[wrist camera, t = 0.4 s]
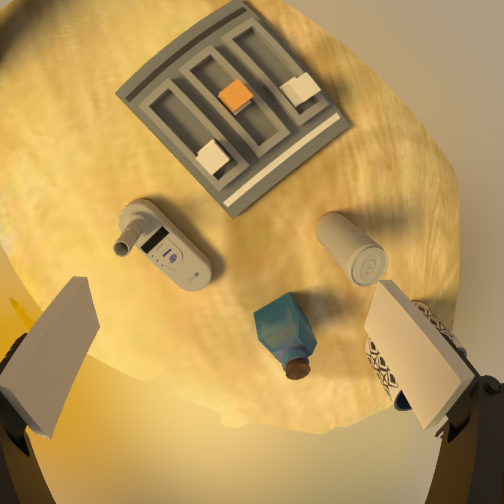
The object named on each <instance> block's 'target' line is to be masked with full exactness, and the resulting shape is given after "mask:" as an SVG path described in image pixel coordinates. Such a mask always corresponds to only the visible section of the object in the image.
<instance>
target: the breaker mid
mask: <svg viewBox="0 0 504 504" xmlns="http://www.w3.org/2000/svg"><path fill="white" fill-rule="evenodd" d="M217 97H218V98H219V99H220V100H221V102H222V103H223V104H224V105H225V106H226V107H227V108H228V109H229V110H230V111H231V112H232V114H233V115H234V116H235V115H236V114H237V113H239V112H240V111H241V110H242V109H244V108H245V107H246V106H248V105H249V104H250V103H251V101H250V100H251V98H252V97H253V95H252V93H251V92H250V91H249V90H248V89H247V88H246V87H245V86H244V85H243V83H242V82H241V81H240V80H239V79H237V80H235V81H234V82H233V83H231V84H230V85H229V86H227V87H226V88H225V89H224V90H222V91H221V92H220V93H219V95H218V96H217Z"/></svg>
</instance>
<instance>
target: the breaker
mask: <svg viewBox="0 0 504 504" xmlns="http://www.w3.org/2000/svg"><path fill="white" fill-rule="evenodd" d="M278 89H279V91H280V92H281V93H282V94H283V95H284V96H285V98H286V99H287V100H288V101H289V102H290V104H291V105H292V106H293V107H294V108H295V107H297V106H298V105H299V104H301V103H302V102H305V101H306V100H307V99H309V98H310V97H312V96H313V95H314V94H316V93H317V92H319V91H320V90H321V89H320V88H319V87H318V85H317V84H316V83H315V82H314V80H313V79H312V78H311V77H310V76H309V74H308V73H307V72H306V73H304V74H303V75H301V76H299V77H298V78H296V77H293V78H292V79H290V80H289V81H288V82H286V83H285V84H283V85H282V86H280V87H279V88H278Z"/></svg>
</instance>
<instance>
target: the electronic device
mask: <svg viewBox="0 0 504 504" xmlns="http://www.w3.org/2000/svg"><path fill="white" fill-rule="evenodd" d="M119 227H120V230H121V232H122V233H121V236H120V237H119V238H118V240H117V241H116V242H115V244H114V247H113V249H114V252H115V254H116V255H117V256H120V257H125V256H127V255H128V254H129V252H130V251H131V249H132V247H133V245H134V246H135V247H136V248H137V249H138V250H139V251H140V252H141V253H142V254H143V255H144V256H146V257H147V258H148V259H149V260H150V261H151V262H152V263H153V264H154V265H155V266H156V267H157V268H159V269H160V270H161V271H162V272H163V273H164V274H165V275H166V276H167V277H168V278H170V279H171V280H172V281H173V282H174V283H175V284H176V285H178V286H179V287H180V288H181V289H184V290H186V291H192V292H196V291H199V290H202V289H204V288H205V287H206V286H207V285H208V284H209V283H210V281H211V279H212V265H211V262H210V260H209V258H208V257H207V256H206V255H205V254H204V253H203V252H202V251H201V250H200V249H198V248H197V247H196V246H195V245H194V244H193V243H192V242H191V241H190V240H189V239H188V238H187V237H186V236H185V235H184V234H183V233H182V232H181V231H180V230H179V229H178V228H177V227H176V226H175V225H174V224H173V223H172V222H171V221H170V220H169V219H168V218H167V217H166V216H165V214H164V213H163V212H162V211H161V210H160V209H159V208H158V207H157V206H156V205H155V204H153V203H152V202H151V201H149V200H145V199H136V200H134V201H132V202H130V203H129V204H128V205H127V206H126V207H125V208H124V209H123V210H122V211H121V214H120V216H119Z"/></svg>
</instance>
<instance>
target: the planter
mask: <svg viewBox="0 0 504 504" xmlns="http://www.w3.org/2000/svg"><path fill="white" fill-rule="evenodd" d="M413 303H414V305H415V306H416V307H417V308H418V309H419V310H420V311H421V312H422V313H423V314H424V315H425V317H426V318H427V319H428V320H429V321H430V322H431V323H432V324H433V326H434V327H435V328H436V329H437V330H438V331H439V332H441V333H443V334H444V335H446V336H447V337H449V338H450V339H451V340H452V342H453V343H454V344H455V345H456V348H458V349H459V350H460V351H461V354H463V355H464V356H465V357H467V352H466V350H465V348H464V347H463V346H462V345H461V344H460V342H459V341H458V340H457V339H456V338H455V337H454V335H453V334H452V333H451V332H450V331H449V330H448V329H447V327H446V326H445V325H444V324H443V323H442V322H441V321H440V320H439V319H438V318H437V317H436V315H435V314H434V313H433V312H432V311H431V310H430V309H429V308H428V307H427V306H426V305H425V304H423V303H421V302H413ZM365 354H366V356H367V358H368V360H369V362H370V363H371V365H372V367H373V369H374V371H375V373H376V374H377V376H378V378H379V380H380V382H381V383H382V385H383V387H384V389H385V391H386V393H387V395H388V396H389V398H390V400H391V402H392V404H393V406H394V407H395V409H397V410H399V411H407V410H411V409H412V407H411V406H410V404H409V402H408V400H407V399H406V397H405V395H404V393H403V391H402V390H401V388H400V386H399V385H398V383H397V381H396V379H395V378H394V376H393V374H392V373H391V371H390V369H389V368H388V366H387V364H386V363H385V361H384V359H383V358H382V356H381V354H380V353H379V351H378V349H377V348H376V346H375V345H374V343H373V341H372V340H371V338H370V337H369V335H368V337H367V340H366V343H365Z"/></svg>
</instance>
